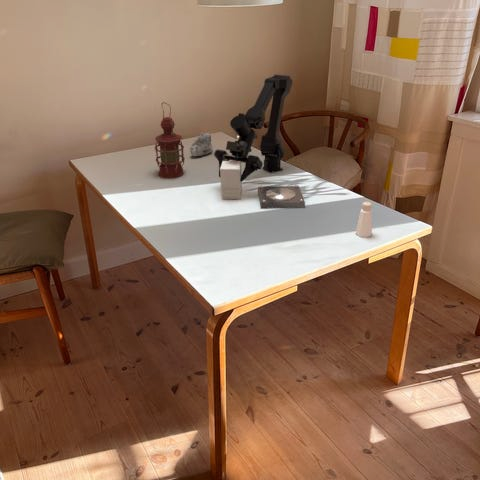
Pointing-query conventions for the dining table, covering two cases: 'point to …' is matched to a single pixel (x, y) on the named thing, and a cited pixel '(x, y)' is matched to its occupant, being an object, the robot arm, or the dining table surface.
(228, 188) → the supplement box
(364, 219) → the pepper shaker
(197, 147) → the mineral rock
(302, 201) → the motor mount
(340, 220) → the dining table surface
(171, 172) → the lantern
